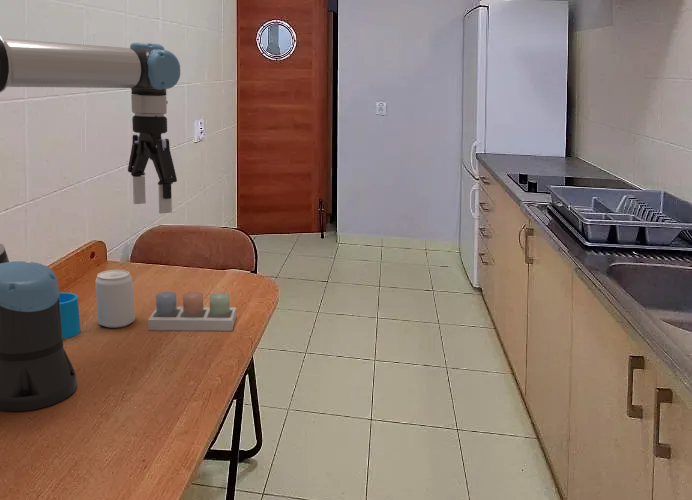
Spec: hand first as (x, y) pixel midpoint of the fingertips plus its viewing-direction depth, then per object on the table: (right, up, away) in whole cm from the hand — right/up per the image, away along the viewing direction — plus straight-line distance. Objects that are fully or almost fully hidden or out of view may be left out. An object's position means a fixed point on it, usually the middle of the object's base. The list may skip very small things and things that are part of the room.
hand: (152, 208), depth 153 cm
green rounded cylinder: (+15, -24, +2) cm, 29 cm away
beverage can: (-9, -27, +2) cm, 29 cm away
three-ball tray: (+9, -27, +3) cm, 29 cm away
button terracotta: (+9, -24, +2) cm, 26 cm away
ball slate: (+3, -24, +1) cm, 24 cm away
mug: (-19, -28, -3) cm, 34 cm away
